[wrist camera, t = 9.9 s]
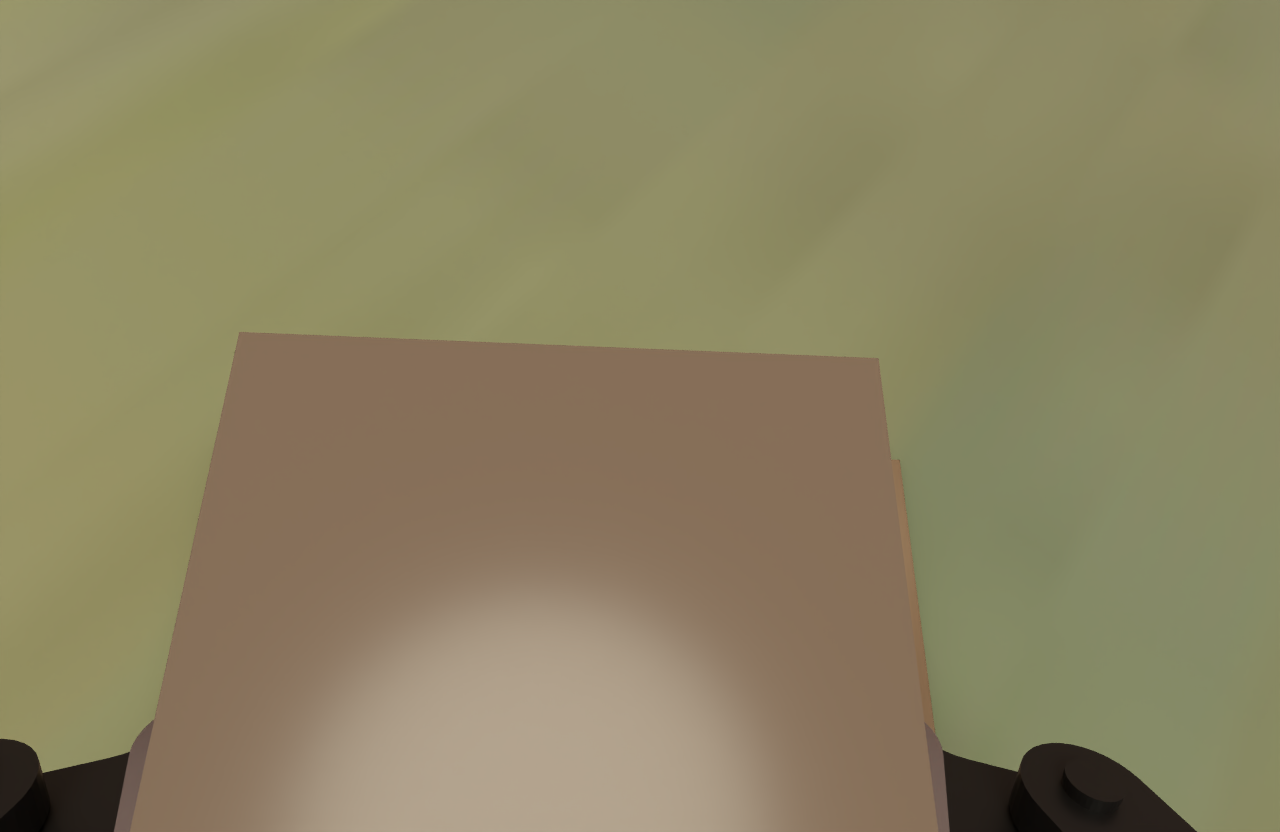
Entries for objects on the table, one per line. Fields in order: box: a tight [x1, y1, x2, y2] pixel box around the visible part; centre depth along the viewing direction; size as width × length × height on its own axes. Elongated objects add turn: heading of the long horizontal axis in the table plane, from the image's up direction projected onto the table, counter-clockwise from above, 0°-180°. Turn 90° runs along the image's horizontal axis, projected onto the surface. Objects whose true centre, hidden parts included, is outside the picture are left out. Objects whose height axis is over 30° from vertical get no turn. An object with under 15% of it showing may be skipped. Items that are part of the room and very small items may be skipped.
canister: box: [130, 332, 938, 832], centre depth 11 cm, size 5×5×11 cm
